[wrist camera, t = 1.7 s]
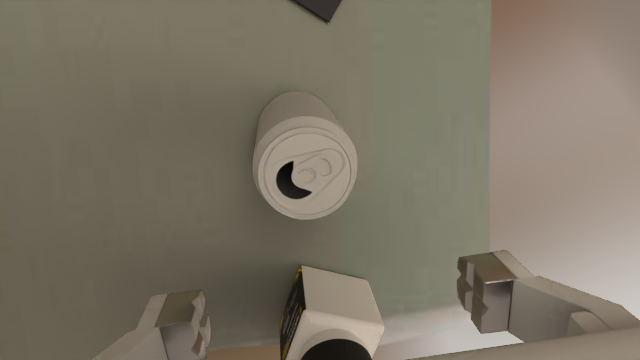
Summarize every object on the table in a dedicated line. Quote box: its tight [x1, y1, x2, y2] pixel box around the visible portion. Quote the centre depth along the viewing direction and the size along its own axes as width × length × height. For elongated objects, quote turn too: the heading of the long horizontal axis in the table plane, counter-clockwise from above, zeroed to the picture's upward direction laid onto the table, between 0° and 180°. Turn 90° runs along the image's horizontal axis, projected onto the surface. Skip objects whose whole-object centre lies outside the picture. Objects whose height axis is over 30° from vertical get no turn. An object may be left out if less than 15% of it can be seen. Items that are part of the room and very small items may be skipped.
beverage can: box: [253, 91, 358, 220], centre depth 29 cm, size 6×6×12 cm
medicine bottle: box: [280, 266, 384, 360], centre depth 36 cm, size 7×7×12 cm
